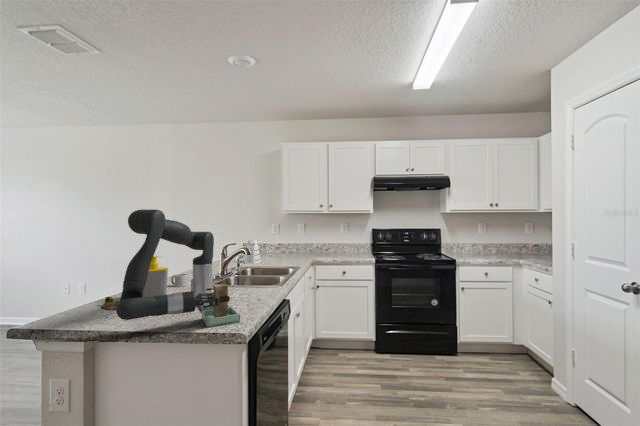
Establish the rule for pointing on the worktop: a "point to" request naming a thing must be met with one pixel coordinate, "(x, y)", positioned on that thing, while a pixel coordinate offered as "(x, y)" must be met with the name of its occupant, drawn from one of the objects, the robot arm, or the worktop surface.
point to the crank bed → (208, 307)
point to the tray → (220, 318)
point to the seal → (110, 304)
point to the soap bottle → (156, 280)
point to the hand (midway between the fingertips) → (227, 297)
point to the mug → (179, 280)
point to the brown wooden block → (222, 308)
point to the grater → (253, 254)
